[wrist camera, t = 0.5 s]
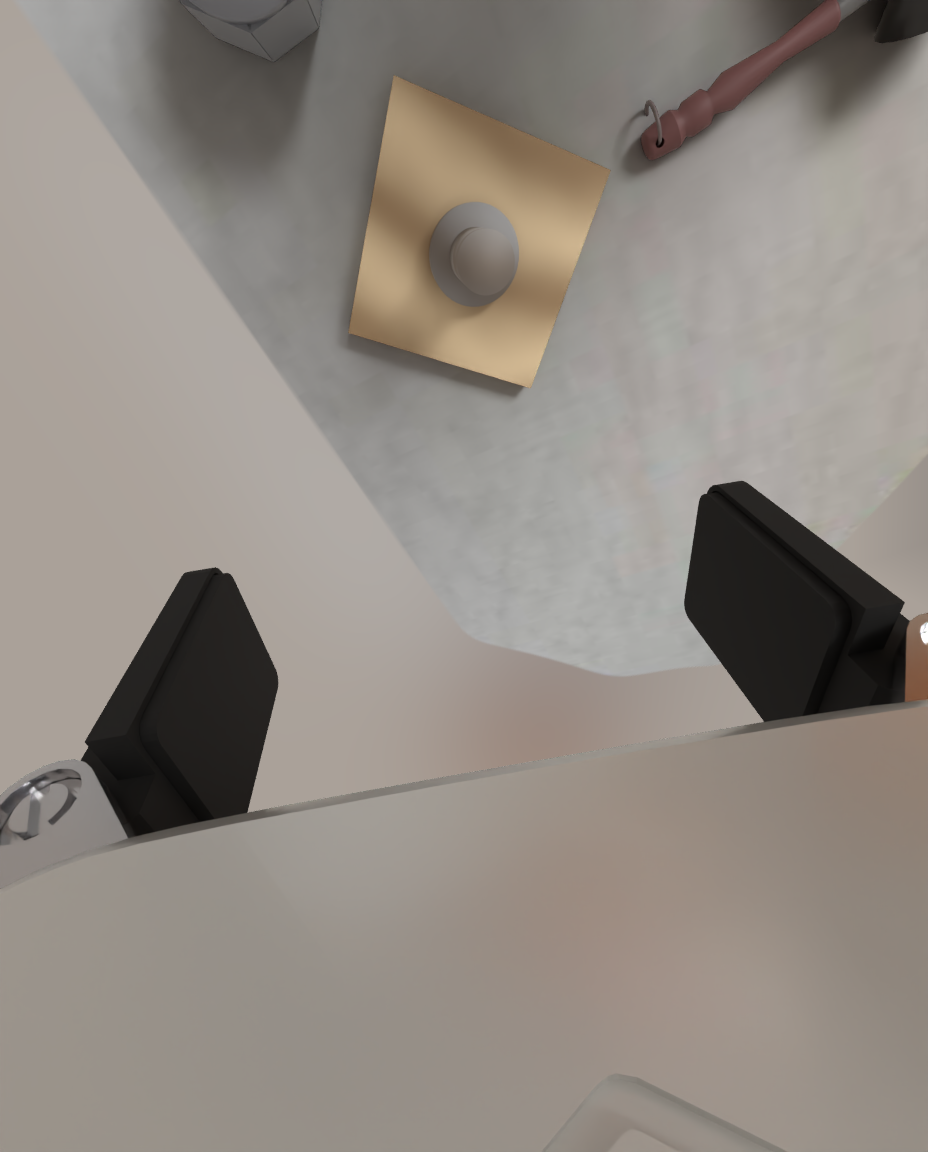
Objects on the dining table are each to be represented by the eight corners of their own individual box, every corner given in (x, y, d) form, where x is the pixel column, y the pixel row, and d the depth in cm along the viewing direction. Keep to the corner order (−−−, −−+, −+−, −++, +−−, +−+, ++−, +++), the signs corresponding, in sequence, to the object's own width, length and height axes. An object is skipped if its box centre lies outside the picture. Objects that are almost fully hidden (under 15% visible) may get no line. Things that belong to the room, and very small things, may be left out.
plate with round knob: (393, 80, 26) (393, 45, 21) (603, 171, 30) (651, 162, 24) (349, 329, 33) (340, 352, 27) (526, 383, 36) (551, 414, 30)
